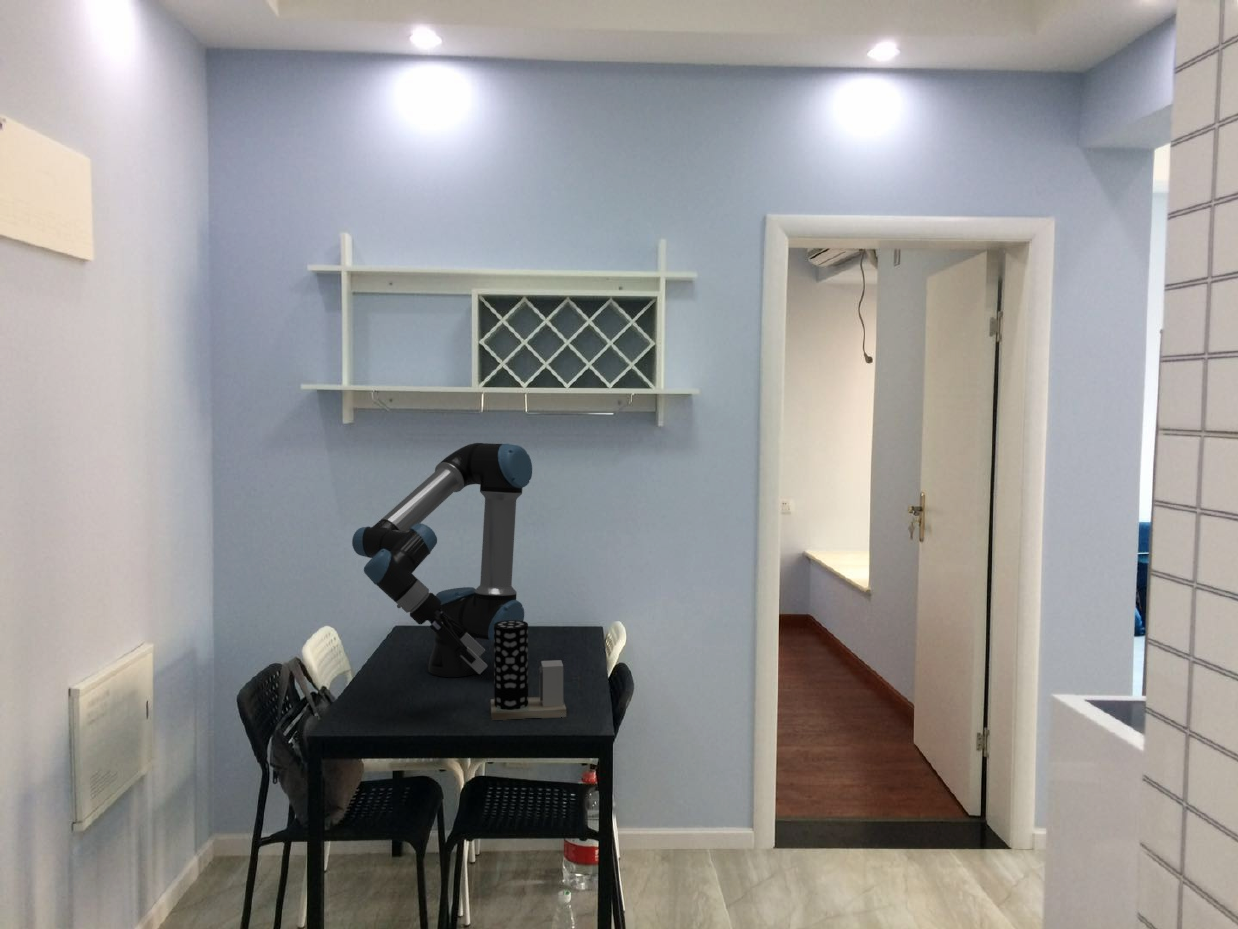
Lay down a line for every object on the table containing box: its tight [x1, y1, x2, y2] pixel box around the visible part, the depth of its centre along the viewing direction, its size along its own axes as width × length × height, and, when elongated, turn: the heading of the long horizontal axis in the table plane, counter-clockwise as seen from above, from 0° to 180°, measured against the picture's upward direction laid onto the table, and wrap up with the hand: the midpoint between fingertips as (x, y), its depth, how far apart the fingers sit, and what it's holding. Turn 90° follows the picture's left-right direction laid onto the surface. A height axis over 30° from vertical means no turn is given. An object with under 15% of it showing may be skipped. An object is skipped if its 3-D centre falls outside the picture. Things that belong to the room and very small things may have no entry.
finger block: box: [538, 659, 564, 707], centre depth 229 cm, size 5×6×10 cm
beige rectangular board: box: [490, 696, 567, 721], centre depth 228 cm, size 10×18×2 cm, turn 99°
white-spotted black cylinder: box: [493, 620, 529, 710], centre depth 227 cm, size 8×8×20 cm
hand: (482, 661), depth 226 cm, fingers open, 13 cm apart
